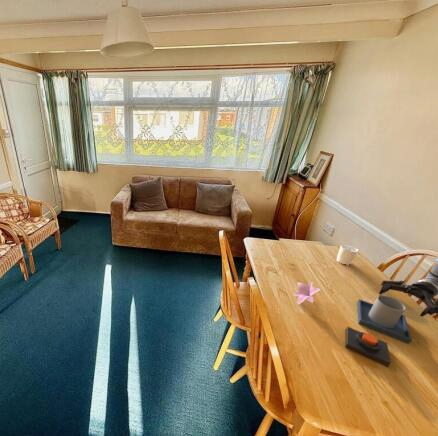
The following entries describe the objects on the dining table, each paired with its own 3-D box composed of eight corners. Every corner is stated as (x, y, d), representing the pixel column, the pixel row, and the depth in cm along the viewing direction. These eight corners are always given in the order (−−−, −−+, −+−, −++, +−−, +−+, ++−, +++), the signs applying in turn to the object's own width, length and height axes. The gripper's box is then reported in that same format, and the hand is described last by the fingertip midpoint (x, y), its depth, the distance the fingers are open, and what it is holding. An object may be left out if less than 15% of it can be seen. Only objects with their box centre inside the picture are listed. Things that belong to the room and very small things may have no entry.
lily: (296, 289, 118) (291, 277, 115) (324, 292, 110) (320, 278, 106) (294, 309, 111) (289, 296, 107) (324, 313, 103) (319, 300, 99)
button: (375, 340, 87) (377, 336, 86) (376, 347, 84) (378, 344, 83) (361, 334, 89) (363, 331, 88) (362, 341, 86) (363, 338, 86)
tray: (402, 319, 100) (404, 315, 99) (408, 344, 89) (411, 339, 88) (357, 302, 109) (358, 299, 108) (358, 323, 98) (360, 319, 97)
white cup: (343, 258, 142) (349, 244, 138) (355, 265, 135) (361, 251, 131) (331, 258, 142) (337, 244, 137) (342, 266, 134) (348, 252, 130)
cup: (364, 316, 100) (373, 299, 96) (373, 309, 104) (382, 292, 100) (389, 331, 94) (400, 313, 89) (398, 323, 97) (409, 306, 93)
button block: (384, 346, 88) (389, 339, 87) (387, 367, 81) (393, 359, 79) (345, 330, 95) (348, 323, 93) (345, 347, 88) (349, 340, 86)
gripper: (462, 314, 96) (438, 331, 89) (387, 278, 117) (363, 289, 110) (473, 301, 93) (448, 317, 86) (394, 267, 114) (369, 277, 107)
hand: (400, 302), depth 98 cm, fingers open, 13 cm apart
